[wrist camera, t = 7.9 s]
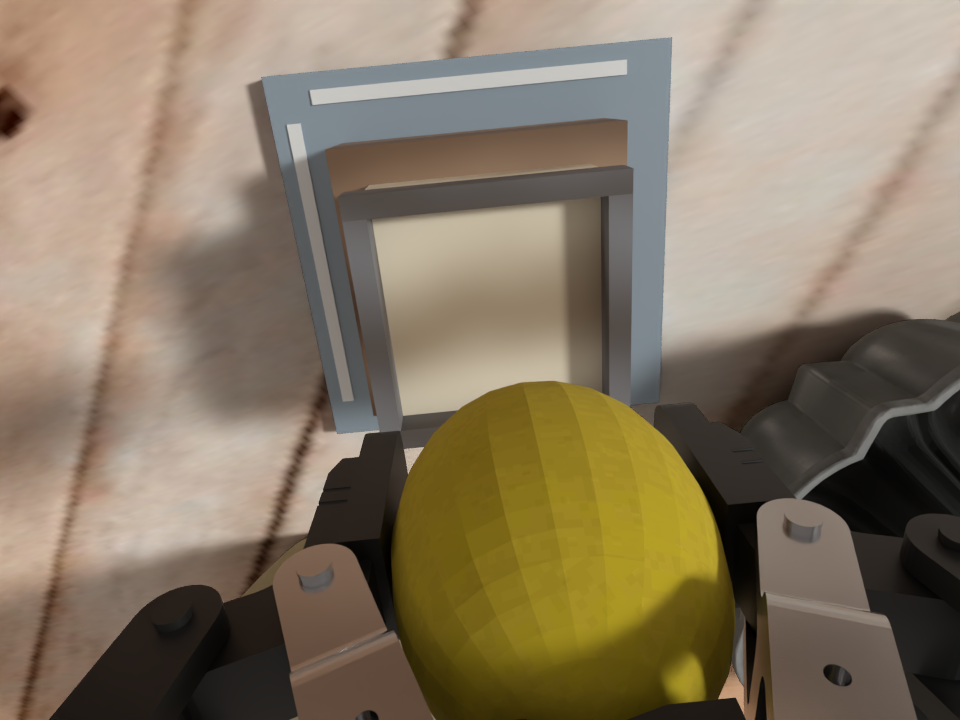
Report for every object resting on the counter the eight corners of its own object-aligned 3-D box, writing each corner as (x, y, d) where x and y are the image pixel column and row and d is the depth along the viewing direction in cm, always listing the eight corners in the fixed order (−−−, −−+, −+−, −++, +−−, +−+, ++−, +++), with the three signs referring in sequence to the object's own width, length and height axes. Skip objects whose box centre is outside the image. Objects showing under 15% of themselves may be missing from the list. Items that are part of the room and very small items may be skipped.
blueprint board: (266, 77, 27) (260, 77, 26) (666, 39, 27) (672, 37, 26) (339, 426, 34) (336, 434, 33) (654, 395, 34) (659, 403, 33)
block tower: (342, 143, 27) (292, 161, 19) (604, 117, 27) (672, 124, 19) (382, 380, 32) (357, 479, 24) (605, 358, 32) (659, 449, 24)
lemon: (476, 558, 16) (496, 966, 8) (363, 390, 14) (256, 735, 6) (674, 472, 15) (893, 838, 7) (586, 279, 13) (768, 523, 5)
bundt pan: (1085, 566, 41) (1269, 700, 32) (707, 671, 43) (776, 824, 34) (1114, 191, 31) (1397, 229, 21) (618, 358, 33) (681, 456, 24)
